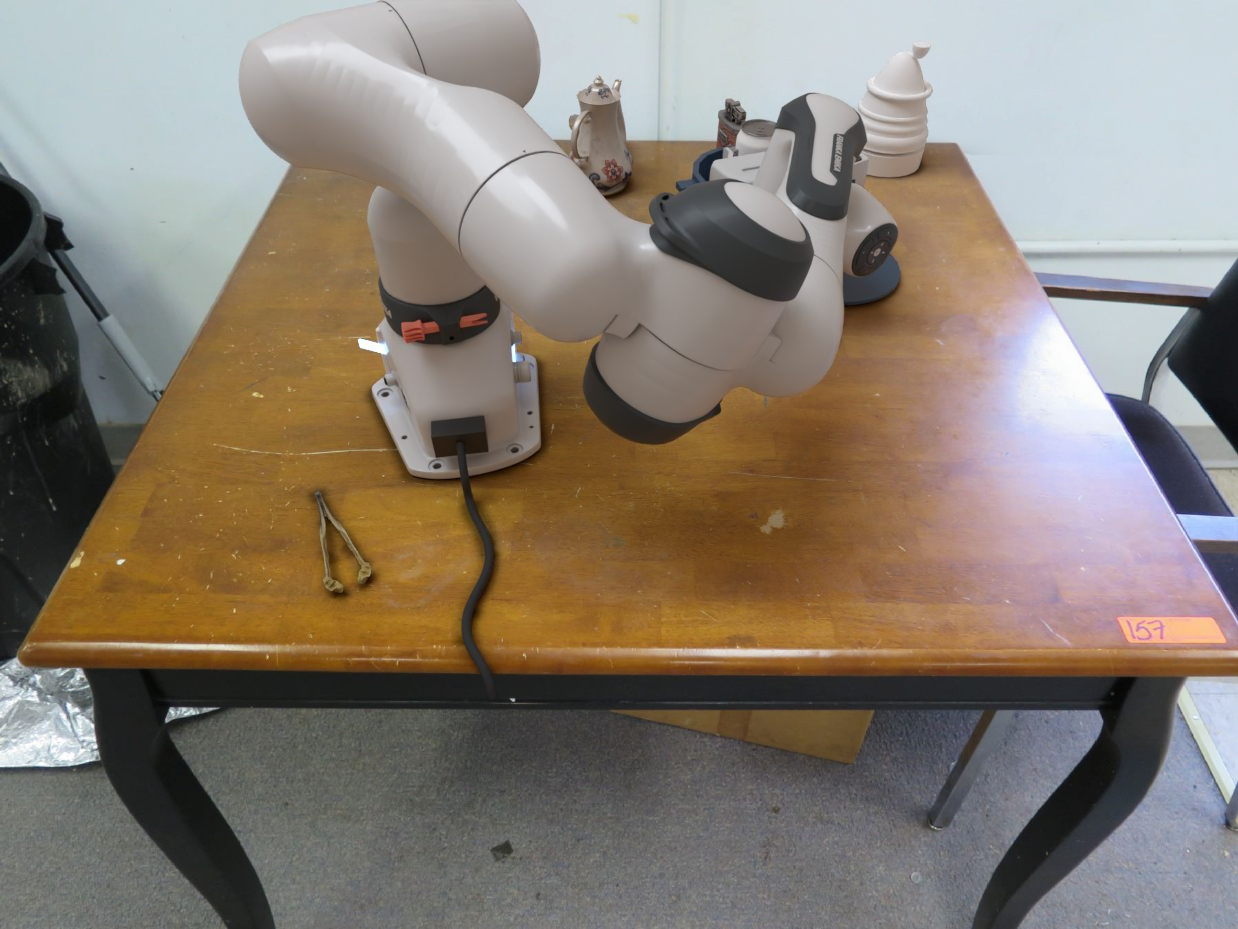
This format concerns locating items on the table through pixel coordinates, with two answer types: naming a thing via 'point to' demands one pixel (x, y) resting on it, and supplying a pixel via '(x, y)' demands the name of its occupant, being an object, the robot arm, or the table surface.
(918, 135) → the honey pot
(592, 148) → the chinaware
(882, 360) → the table surface
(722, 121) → the lighter
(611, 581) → the table surface
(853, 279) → the lid
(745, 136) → the can
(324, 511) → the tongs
